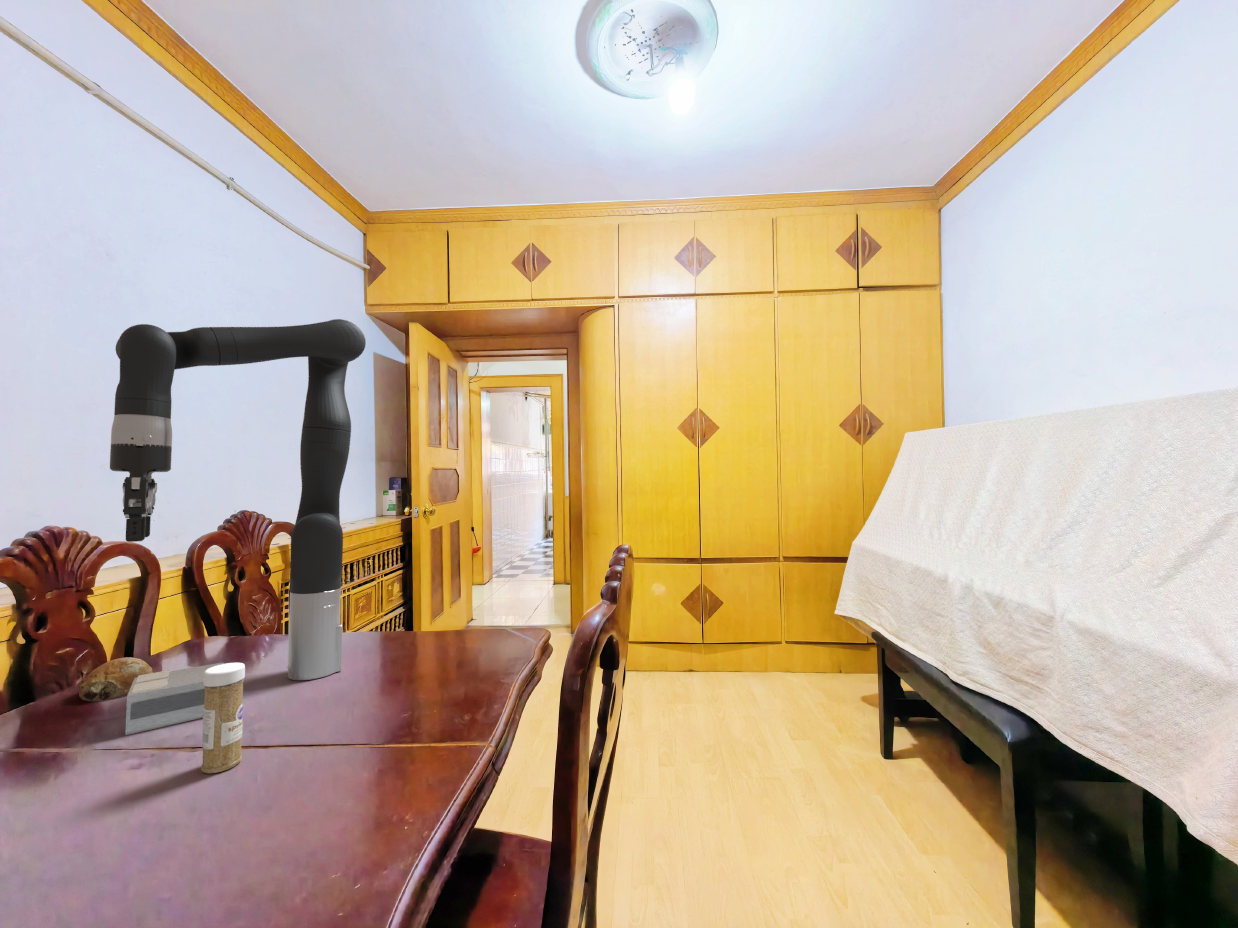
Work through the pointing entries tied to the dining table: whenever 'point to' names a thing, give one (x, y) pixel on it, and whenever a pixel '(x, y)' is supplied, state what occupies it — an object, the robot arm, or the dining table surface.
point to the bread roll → (112, 679)
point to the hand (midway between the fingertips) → (138, 539)
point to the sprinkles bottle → (222, 717)
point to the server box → (165, 698)
